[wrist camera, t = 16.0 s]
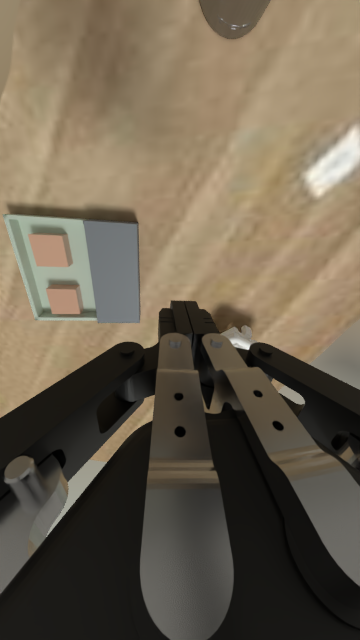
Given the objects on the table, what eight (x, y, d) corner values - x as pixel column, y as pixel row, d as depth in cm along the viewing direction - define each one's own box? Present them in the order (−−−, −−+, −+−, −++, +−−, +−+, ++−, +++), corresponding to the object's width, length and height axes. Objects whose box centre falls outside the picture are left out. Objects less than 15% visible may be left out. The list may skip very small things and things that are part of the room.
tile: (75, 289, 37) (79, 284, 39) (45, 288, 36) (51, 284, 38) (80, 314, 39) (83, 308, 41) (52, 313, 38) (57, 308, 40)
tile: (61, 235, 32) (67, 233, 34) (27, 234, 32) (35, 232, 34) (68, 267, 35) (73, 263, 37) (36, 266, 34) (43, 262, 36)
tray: (14, 213, 33) (2, 214, 30) (87, 218, 34) (82, 220, 32) (42, 313, 41) (35, 320, 39) (100, 313, 43) (96, 320, 40)
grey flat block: (90, 219, 34) (83, 220, 31) (138, 222, 35) (136, 224, 32) (102, 313, 43) (97, 322, 39) (140, 313, 44) (139, 322, 41)
